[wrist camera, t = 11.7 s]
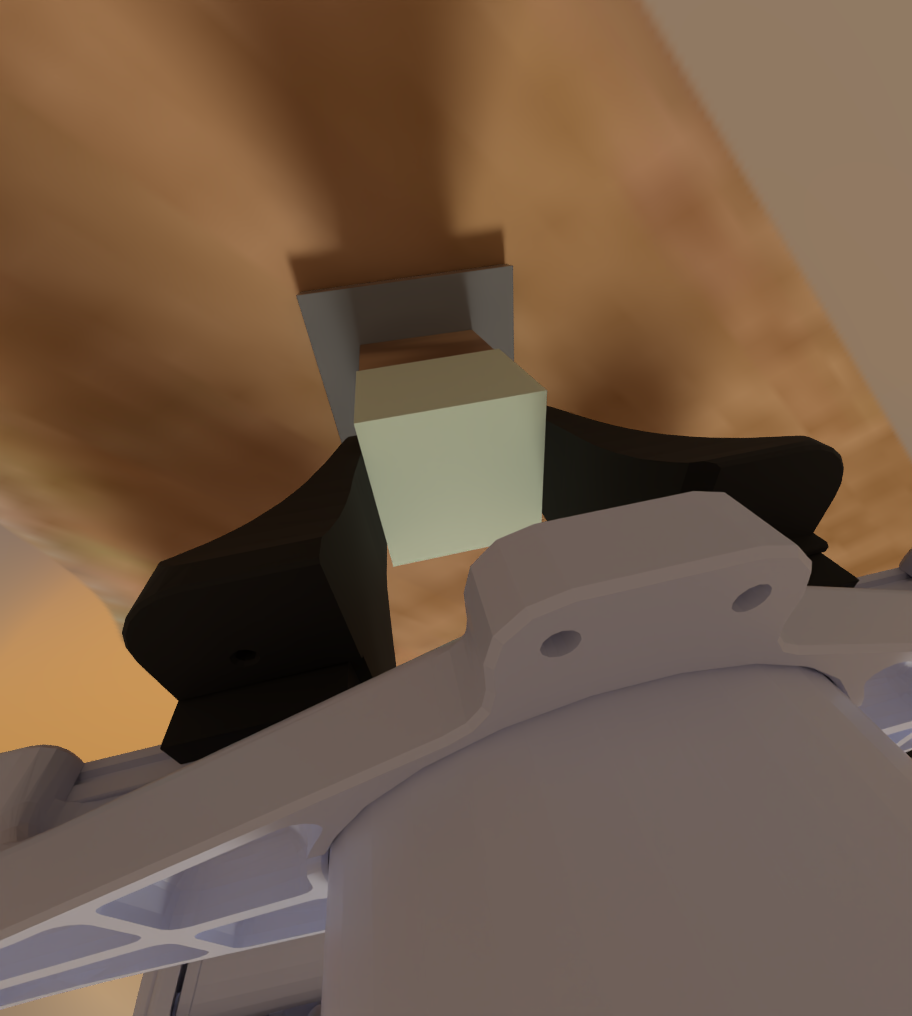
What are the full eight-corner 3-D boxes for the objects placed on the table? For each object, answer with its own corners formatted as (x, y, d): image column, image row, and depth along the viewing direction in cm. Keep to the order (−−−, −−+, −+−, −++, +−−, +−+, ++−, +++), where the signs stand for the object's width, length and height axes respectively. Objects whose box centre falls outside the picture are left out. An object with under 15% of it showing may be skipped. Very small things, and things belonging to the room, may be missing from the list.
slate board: (354, 472, 19) (354, 483, 18) (299, 292, 14) (296, 295, 14) (508, 444, 20) (514, 453, 19) (504, 263, 15) (512, 265, 14)
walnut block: (382, 447, 18) (386, 495, 14) (359, 345, 15) (358, 375, 12) (477, 432, 18) (502, 475, 15) (472, 329, 15) (500, 355, 12)
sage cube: (386, 492, 14) (393, 566, 11) (356, 371, 12) (353, 423, 9) (502, 470, 15) (540, 535, 12) (499, 348, 12) (546, 390, 9)
